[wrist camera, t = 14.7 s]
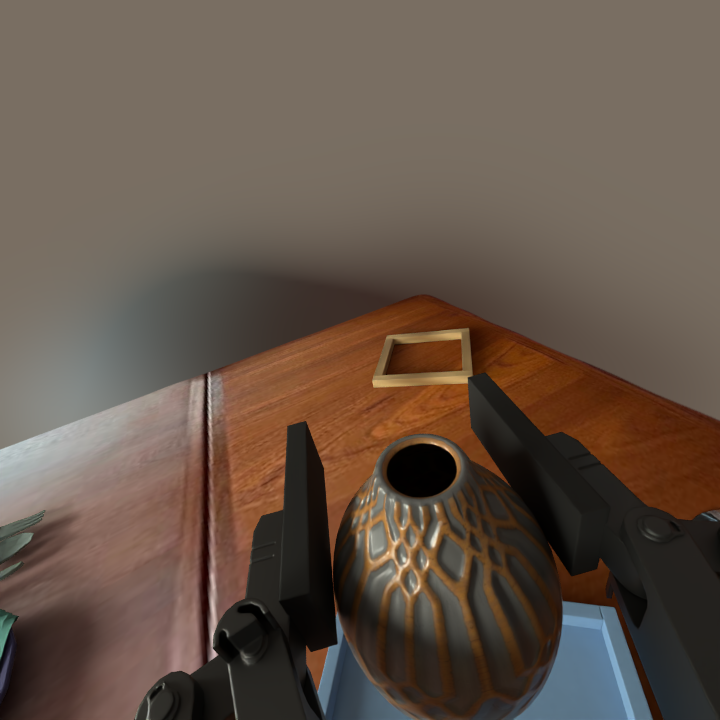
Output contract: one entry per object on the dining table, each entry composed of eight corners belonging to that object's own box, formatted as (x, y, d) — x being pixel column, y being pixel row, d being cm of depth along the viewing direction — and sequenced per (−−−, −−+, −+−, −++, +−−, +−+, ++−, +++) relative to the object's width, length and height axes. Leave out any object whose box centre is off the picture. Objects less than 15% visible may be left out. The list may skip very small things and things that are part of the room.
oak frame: (469, 334, 54) (469, 328, 54) (473, 383, 44) (472, 375, 43) (388, 341, 58) (387, 335, 58) (373, 387, 48) (372, 380, 47)
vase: (385, 803, 10) (290, 679, 6) (347, 567, 16) (287, 421, 12) (607, 720, 10) (674, 548, 6) (488, 521, 16) (480, 364, 12)
